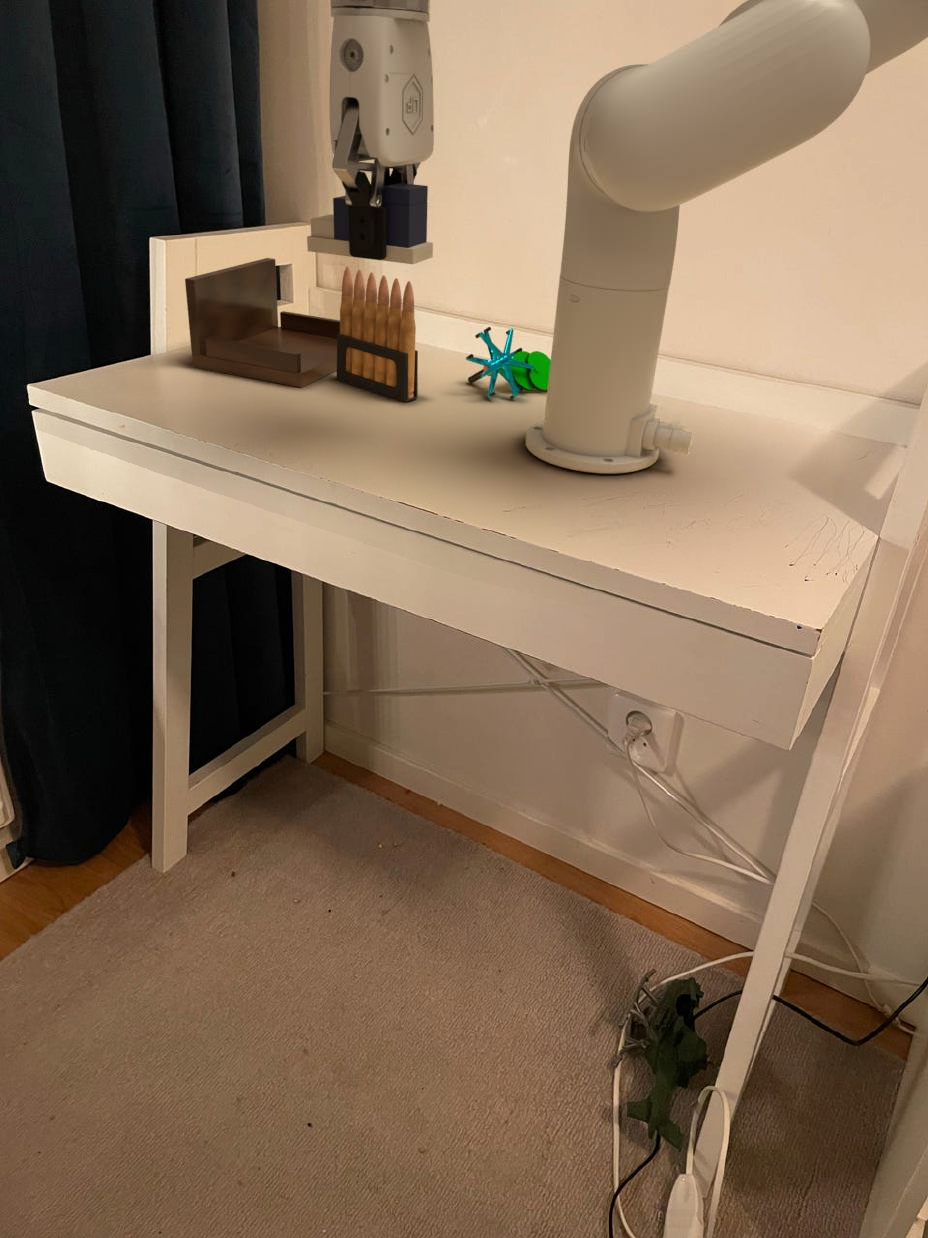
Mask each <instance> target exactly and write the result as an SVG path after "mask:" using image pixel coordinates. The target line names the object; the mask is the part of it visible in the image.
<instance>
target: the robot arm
mask: <svg viewBox="0 0 928 1238" xmlns="http://www.w3.org/2000/svg"><path fill="white" fill-rule="evenodd" d="M329 2H330V17H331V18H333V22H332V23H333V24H332V32H331V44H330V45H331V46H330V62H329V63H330V64H329V133H330V144H331V150H332V151H331V152H332V154H333V158H332V162H331V168H332V170H333V172H334V173H335V175H336V176H337V177H338V179H339V180H340V181H341V183H342V187H343V189H344V191H345V195H344V196H345V201H346V204H347V205H349V252H350V255H351V256H352V257H351V258H357V259H358V258H359V259H365V260H375V261H382V260H383V259H385V258H386V208H385V207H381V204H382V195H383V186H388V185H393V184H399V183H404V184H414V185H415V179H416V176H417V174H418V169H419V167H420V165H421V163H423V162H425V161H427V160H428V159H430V157H431V156H432V155H433V152H434V148H435V147H434V145H435V143H434V142H435V139H434V138H435V125H434V124H435V121H434V119H435V117H434V111H435V110H434V75H433V59H432V58H433V57H432V47H431V37H430V30H429V23H430V22H431V14H430V13H431V0H330V1H329ZM927 38H928V0H746V1H744V2H743V3H741V4H740V5H739V6H737V7H736V8H735V9H733V10H732V11H731V12H730V13H729V14H728V15H727V16H726V17H725V18H724V20H722V21H721V23H720V24H719V25H718V26H717V27H715V28H713V29H712V30H710V31H708V32H706V33H703V35H701V36H699V37H697V38H695V39H694V40H692V41H690V42H688V43H686V44H684V45H683V46H681V47H680V48H677V49H676V50H674V51H672V52H669V53H668V54H666V55H664V56H663V57H661V58H659V59H657V60H655V61H652V62H651V63H649V64H645V63H644V64H641V63H640V64H628V65H625V66H620V67H618V68H616V69H614V70H612V71H610V72H608V73H606V74H605V75H603V76H602V77H601V78H600V79H599V80H597V81H596V82H595V83H594V84H593V85H592V86H591V87H590V89H588V91H587V93H585V95H584V97H583V99H582V101H581V102H580V104H579V107H578V109H577V110H576V111H577V112H576V114H575V117H574V120H573V124H572V129H571V134H570V141H569V148H568V149H569V153H568V165H567V166H568V169H567V188H566V189H567V192H566V205H565V206H566V207H565V208H566V209H565V221H564V231H563V232H564V233H563V241H562V242H563V243H562V251H561V254H562V256H561V262H560V272H559V279H558V288H557V298H556V307H555V315H554V316H555V317H554V324H553V334H552V335H553V336H552V344H551V354H550V360H551V362H550V372H549V381H548V390H546V391H547V392H546V399H545V410H544V419H543V420H542V421H539V422H537V423H535V424H533V425H532V426H530V427H529V428H528V429H527V431H526V434H525V446H526V448H527V450H528V452H530V453H531V454H532V455H533V456H535V457H537V458H538V459H540V460H541V461H544V462H545V463H548V464H551V465H553V466H556V467H560V468H564V469H568V470H571V471H578V472H584V473H593V474H626V473H632V472H637V471H640V470H644V469H646V468H649V467H651V466H652V465H654V463H656V462H657V460H658V458H659V452H660V449H665V450H668V451H670V452H674V453H680V454H685V455H689V454H690V452H691V448H692V444H693V441H694V432H690V431H685V429H686V426H685V425H682V424H678V423H668V422H663V421H661V418H658V417H657V416H656V415H657V410H658V409H657V408H658V404H654V403H651V399H652V394H653V387H654V382H655V375H656V370H657V365H658V364H657V363H658V357H659V356H658V355H659V350H660V346H661V339H662V334H663V333H662V332H663V327H664V320H665V314H666V308H667V303H668V296H669V290H670V286H671V280H672V274H673V270H674V262H675V256H676V248H677V239H678V230H679V221H680V220H679V219H680V206H681V205H682V204H685V203H687V202H689V201H692V200H694V199H696V198H698V197H701V196H702V195H704V194H707V193H709V192H710V191H713V190H714V189H716V188H719V187H721V186H722V185H725V184H726V183H729V182H731V181H733V180H734V179H736V178H739V177H740V176H742V175H744V174H747V173H749V172H750V171H753V170H754V169H756V168H758V167H760V166H762V165H764V164H766V163H768V162H769V161H771V160H774V159H776V158H778V157H779V156H782V155H784V154H786V153H787V152H789V151H791V150H792V149H795V148H797V147H798V146H800V145H802V144H804V143H806V142H807V141H810V140H811V139H813V138H814V137H816V136H817V135H819V134H820V133H822V132H823V131H824V130H826V129H828V127H830V126H831V125H832V124H833V123H835V121H836V120H837V119H839V118H840V116H841V115H843V113H844V112H845V111H846V110H847V109H848V108H849V106H850V105H851V103H852V102H853V101H854V99H855V98H856V96H857V94H858V93H859V91H860V89H861V87H862V85H863V83H864V80H865V77H866V75H868V74H870V73H871V72H873V71H875V70H876V69H878V68H880V67H881V66H883V65H885V64H886V63H888V62H890V61H892V60H894V59H895V58H897V57H899V56H901V55H902V54H904V53H906V52H907V51H909V50H911V49H913V48H914V47H916V46H917V45H919V44H921V43H922V42H923V41H925V40H926V39H927ZM364 161H365V162H364ZM366 161H373V162H366ZM391 169H392V171H391ZM366 173H370V174H371V175H370V176H371V177H370V180H369V177H368V176H367V174H366Z"/></svg>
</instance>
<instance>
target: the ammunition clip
mask: <svg viewBox="0 0 928 1238" xmlns="http://www.w3.org/2000/svg"><path fill="white" fill-rule="evenodd" d="M362 272H363V271H362V270H361V269H358V270H357V272H356V275H355V279H354V285H353V277H352V273H351V270H350V267H349V266H346V267H345V269H344V272H343V274H342V275H343V276H342V282H341V302H340V307H339V320H340V333H338V334H337V370H336V374H335V375H336V377H335V378H336V381H338V382H339V381H340V382H342V383H345V384H348V385H351V386H354V387H358V388H360V389H363V390H366V391H370V392H373V393H375V394H379V395H382V396H384V397H388V398H391V399H393V400H397V401H400V402H403V403H407V402H410V401H414V400H417V399H418V398H419V388H418V387H419V384H418V383H419V377H418V375H419V373H418V371H419V370H418V369H419V366H418V365H419V363H418V361H419V350H417V349H416V332H417V331H416V326H417V325H416V319H415V295H414V289H413V286H412V283H411V281H410V280H409V281H407V282H406V284H405V287H404V291H403V297H402V290H401V284H400V282H399V279H398V278H395V277H394V280H393V283H392V286H391V290H389V283H388V280H387V278H386V276H385V275H382V277H381V279H380V281H379V285H378V287H377V282H376V277H375V275H374V273H373V272H370V273H369V275H368V278H367V282H366V288H365V279H364V275H363V273H362Z"/></svg>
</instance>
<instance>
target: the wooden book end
mask: <svg viewBox="0 0 928 1238" xmlns="http://www.w3.org/2000/svg"><path fill="white" fill-rule="evenodd" d="M276 267H277V265H276V258H271V257H265V258H261V259H258V260H254V261H250V262H249V261H248V262H246V263H241V264H238V265H233V266H229V267H226V268H221V269H219V270H214V271H210V272H206V273H202V274H197V275H194V276H190V277H186V278H184V284H185V285H184V286H185V294H186V305H187V307H186V308H187V317H188V318H187V319H188V328H189V339H190V340H189V341H190V350H191V359H192V360H191V361H192V367H193V368H196V369H202V370H207V371H212V372H218V373H222V374H228V375H234V376H239V377H244V378H250V379H255V380H258V381H264V382H270V383H274V384H280V385H285V386H291V387H296V388H304V387H305V386H307V385H310V384H312V383H313V382H315V381H318V380H320V379H322V378H324V377H326V376H328V375H330V374H332V373H334V372H337V334H338V333H340V319H334V318H327V317H320V316H315V315H309V314H305V313H304V314H303V313H297V312H291V311H285V310H283V311H280V312H278V290H277V268H276ZM278 313H279V314H278ZM279 315H280V316H279ZM279 320H280V321H279ZM279 322H280V326H279Z"/></svg>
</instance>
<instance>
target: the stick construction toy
mask: <svg viewBox="0 0 928 1238" xmlns="http://www.w3.org/2000/svg"><path fill="white" fill-rule="evenodd" d="M491 330H492V327H491V326H488V327H486V328H485V329H484V330H483V332H482V331H480V332H478V333H476V334H475V335H474V336H475V338H476V339H479V338H480V339H481V340H482V341H483V342H484V343H485V344H486V346H487V349H488V353H489V356H490V359H486V358H481V357H477V356H474V354H473V353H470V354H469V355H467V356H466V357H465V360H466V361H468V362H471V363H475V364H477V365H481V366H483V368H482V369H480V370H478V371H477V372H475V373H473V374H472V375H471V376H468V377H467V382H468V383H469V384H474V383H476V382H478V381H479V380H481V379H483V378H486V376H487V377H490V380H489V386H488V392H487V398H488V399H490V398H493V397H494V396H496V392H495V391H494V390H495V386H496V383H497V379H498V375H500V376H501V377H502V378H503V379H504V380H505V381H506V382H507V383H508V384H509V387H510V389H511V392H512V395H511V394H510V400H513V399H516V398H517V397H519V394H521V393H523V392H524V391H526V392H533V391H534V390H537V391H541V392H544V391H547V390H548V381H549V372H550V362H551V358H550V357H549V356H548V355H546V354H545V353H543V352H542V351H539V350H534V351H531V352H529V351H525V350H523V348H522V347H519V348H518V349H516V350H514V351H512V352H511V349H512V343H513V337H514V336H513V335H514V328H510V329H508V330H506V331H505V335H506V336H507V337H506V341H505V344H504V348H503V351H501V349H499V348H498V346H497V345H496V344H494V342H493V341H492V338H491V335H490V331H491Z"/></svg>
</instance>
